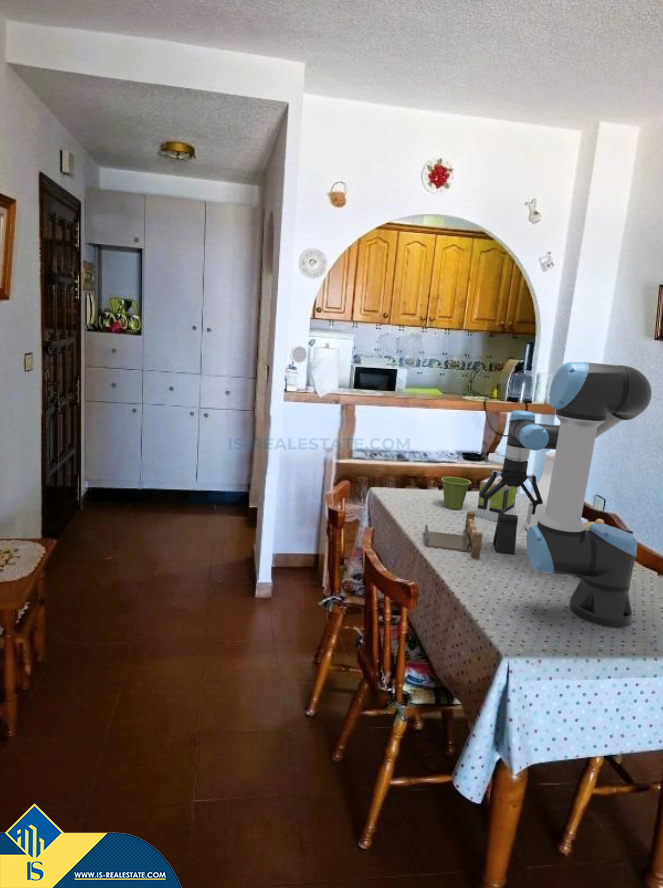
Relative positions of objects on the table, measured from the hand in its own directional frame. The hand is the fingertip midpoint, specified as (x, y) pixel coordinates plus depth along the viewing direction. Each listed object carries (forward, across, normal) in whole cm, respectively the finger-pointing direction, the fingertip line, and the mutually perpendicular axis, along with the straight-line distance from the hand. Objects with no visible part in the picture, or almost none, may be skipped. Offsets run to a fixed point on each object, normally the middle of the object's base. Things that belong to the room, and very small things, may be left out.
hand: (507, 520), depth 203 cm
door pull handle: (+10, +10, 0) cm, 14 cm away
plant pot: (+11, +13, -43) cm, 47 cm away
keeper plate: (+10, +19, 0) cm, 21 cm away
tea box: (+11, -3, -37) cm, 39 cm away
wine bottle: (+10, -17, -23) cm, 30 cm away
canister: (+10, -25, +14) cm, 30 cm away
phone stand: (+10, 0, 0) cm, 10 cm away
